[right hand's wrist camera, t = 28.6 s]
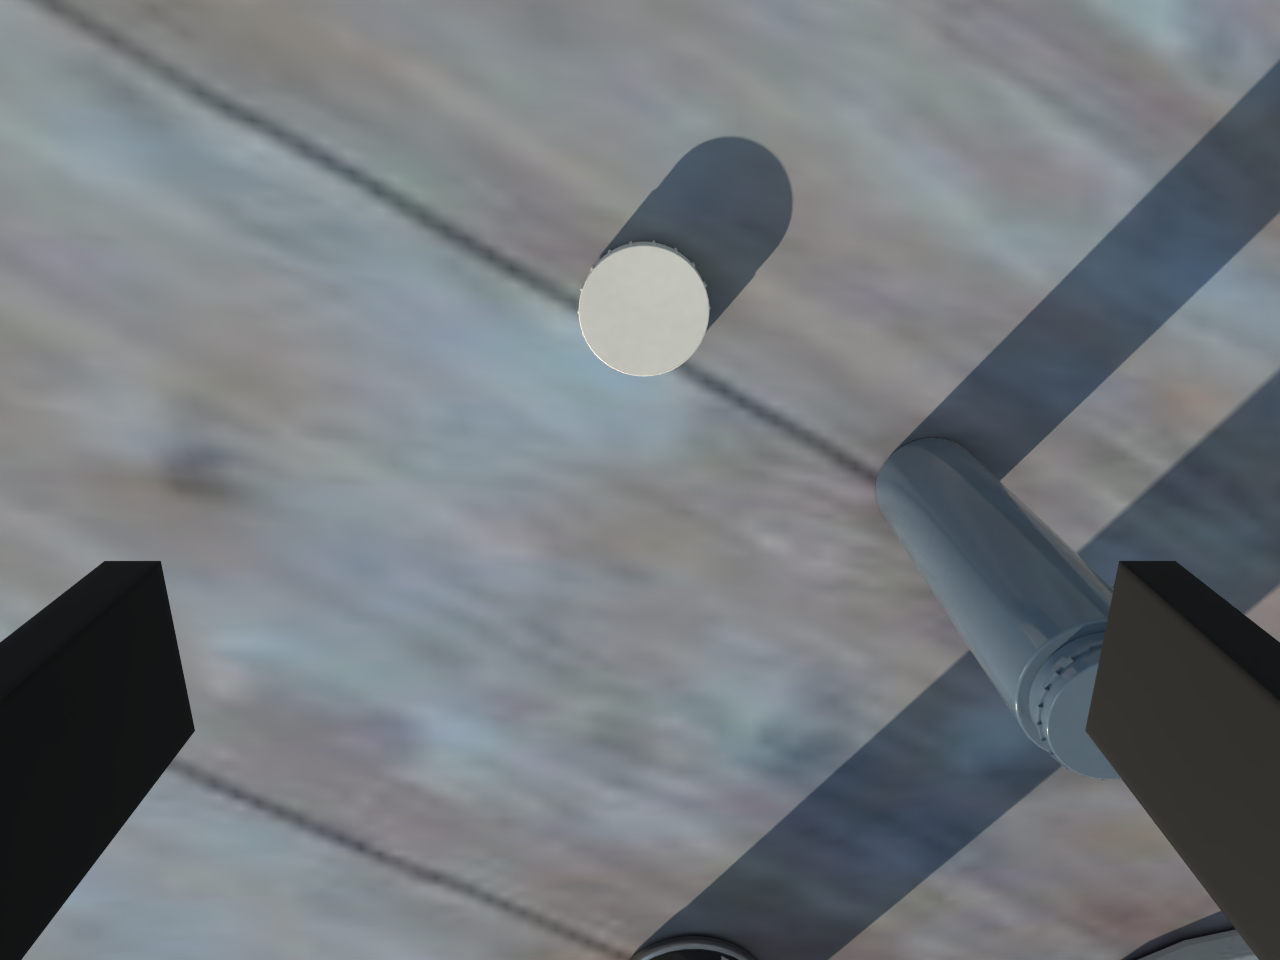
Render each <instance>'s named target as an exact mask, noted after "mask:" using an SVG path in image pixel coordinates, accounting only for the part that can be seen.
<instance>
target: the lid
mask: <svg viewBox="0 0 1280 960" xmlns="http://www.w3.org/2000/svg"><path fill="white" fill-rule="evenodd" d="M590 270H591V271H590V273H589V275H588V277H587V279H586V281H585V284H584V285H582V287H581V289H580V291H582V292H581V296H580V301H579V309H578V314H579V320H580V326H581V329H582V332H583V336H584V337H585V340H586V342H587V343H588V345H589V347H590V348H591V350H592V351H593V352H594V354H595V355H596V356H597V357H599V358H600V359H601V360H602V361H603V362H604V363H606V364H607V365H608V366H610V367H612V368H614V369H615V370H618V371H620V372H623V373H626V374H630V375H635V376H653V375H659V374H662V373H666V372H668V371H670V370H673V369H675V368H676V367H678V366H680V365H681V364H683V363H684V362H685V361H687V360H688V359H689V358H690V357H691V356H692V355H693V354H694V352H695V351H696V350H697V348H698V347H699V345H700V344H701V342H702V340H703V338H704V336H705V333H706V332H707V327H708V322H709V310H711V307H710V305H709V299H708V295H707V291H706V287H707V285H706V283H705V281H704V282H703V281H702V278H701V277H700V275H699V273H698V271H697V270H696V268H695V264H694V263H693V262H692V263H691V262H690V261H689V260H688V259H687V258H686V257H685V256H683V255H682V254H681V253H680V252H678V251H677V248H675V247H674V249H673V248H671V247H668V246H666V245H663V244H659V243H655V240H652V242H634V243H632V241H629V244H625V245H622V246H620V247H618V248H615V249H614V250H612V251H611V250H608V253H607V254H606V255H605V256H604V257H602V258H601V259H600V260H599V261H598V262H597V263H596V264H595V266H594V265H592V267H591V269H590Z"/></svg>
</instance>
